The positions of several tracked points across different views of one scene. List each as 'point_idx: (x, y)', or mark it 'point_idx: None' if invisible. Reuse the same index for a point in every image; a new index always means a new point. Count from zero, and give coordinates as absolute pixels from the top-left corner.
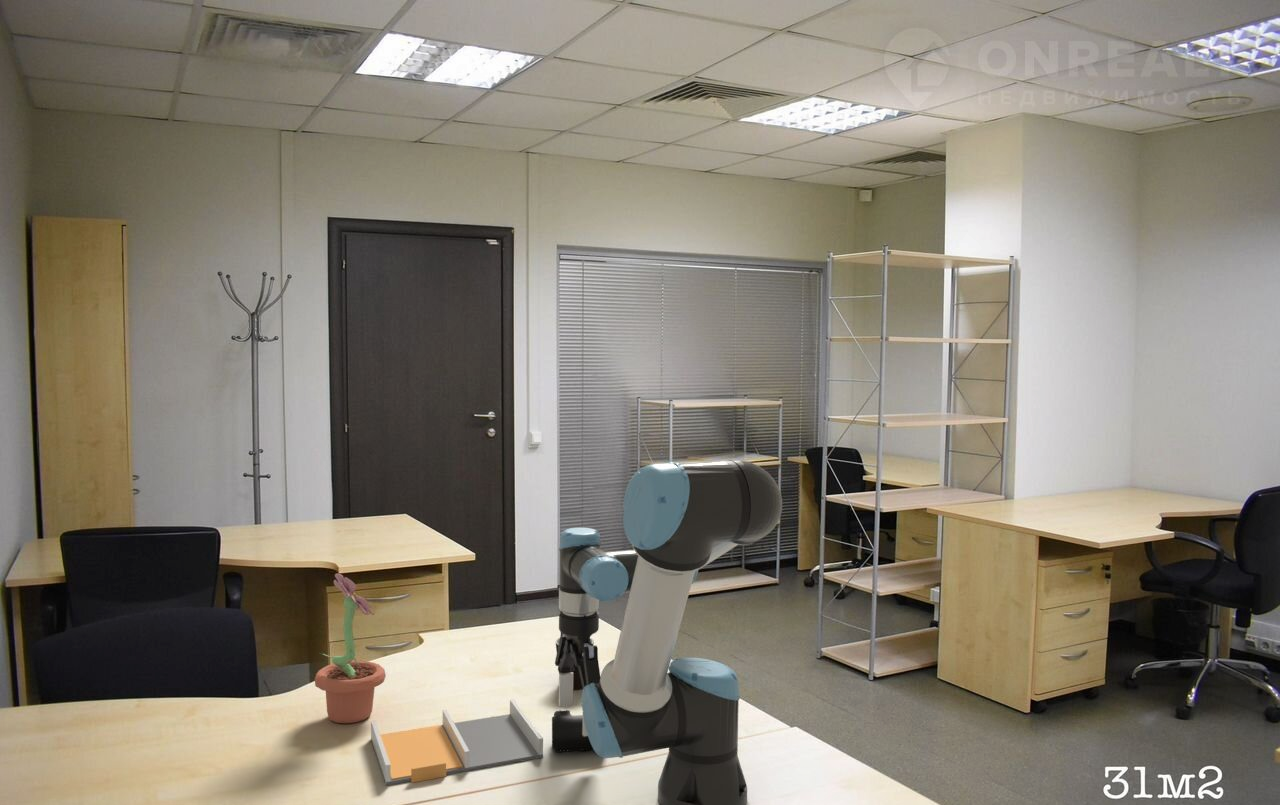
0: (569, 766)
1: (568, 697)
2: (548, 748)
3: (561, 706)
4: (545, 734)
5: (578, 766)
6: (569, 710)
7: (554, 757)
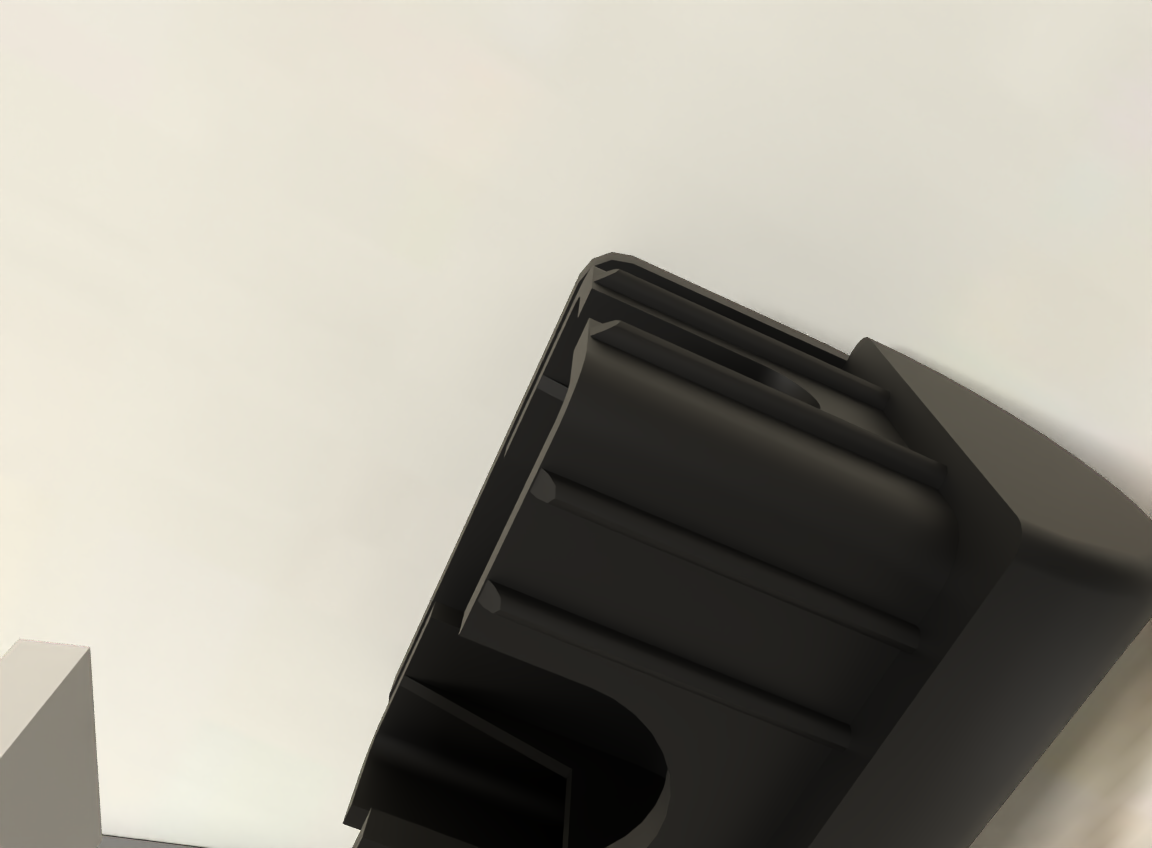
0: None
1: (7, 836)
2: None
3: (98, 828)
4: (181, 696)
5: None
6: (362, 842)
7: None
